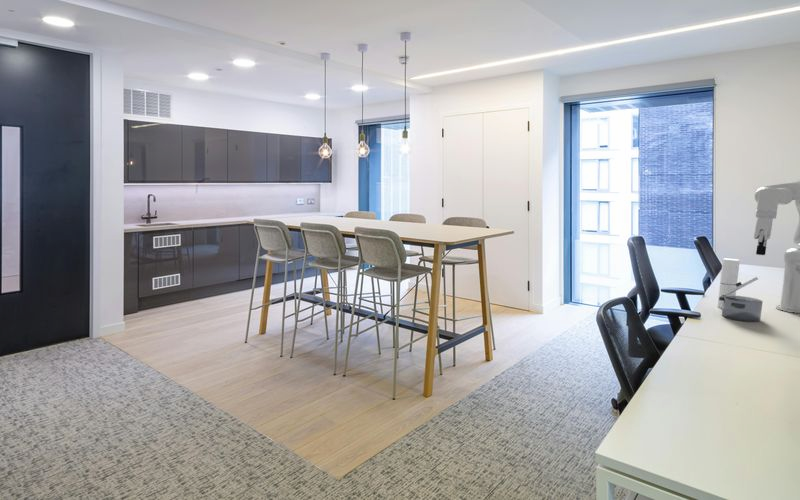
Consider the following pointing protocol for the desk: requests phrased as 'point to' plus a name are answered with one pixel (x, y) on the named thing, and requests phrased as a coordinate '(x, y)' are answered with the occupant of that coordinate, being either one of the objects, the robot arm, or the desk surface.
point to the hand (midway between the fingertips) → (760, 254)
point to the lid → (740, 286)
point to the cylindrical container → (728, 278)
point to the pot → (741, 308)
